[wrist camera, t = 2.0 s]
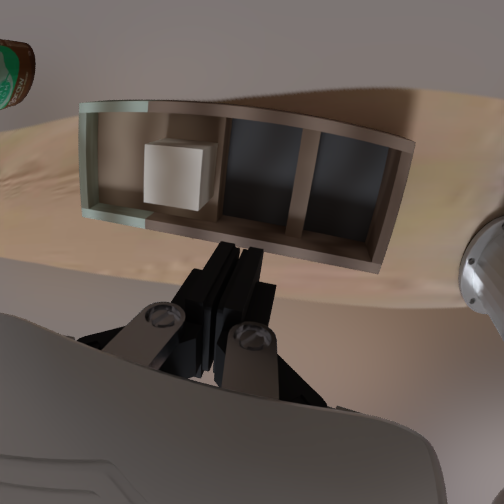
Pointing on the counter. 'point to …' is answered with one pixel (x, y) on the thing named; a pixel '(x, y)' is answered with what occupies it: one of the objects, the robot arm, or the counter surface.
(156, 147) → the block
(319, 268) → the counter surface
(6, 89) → the food container
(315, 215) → the box
